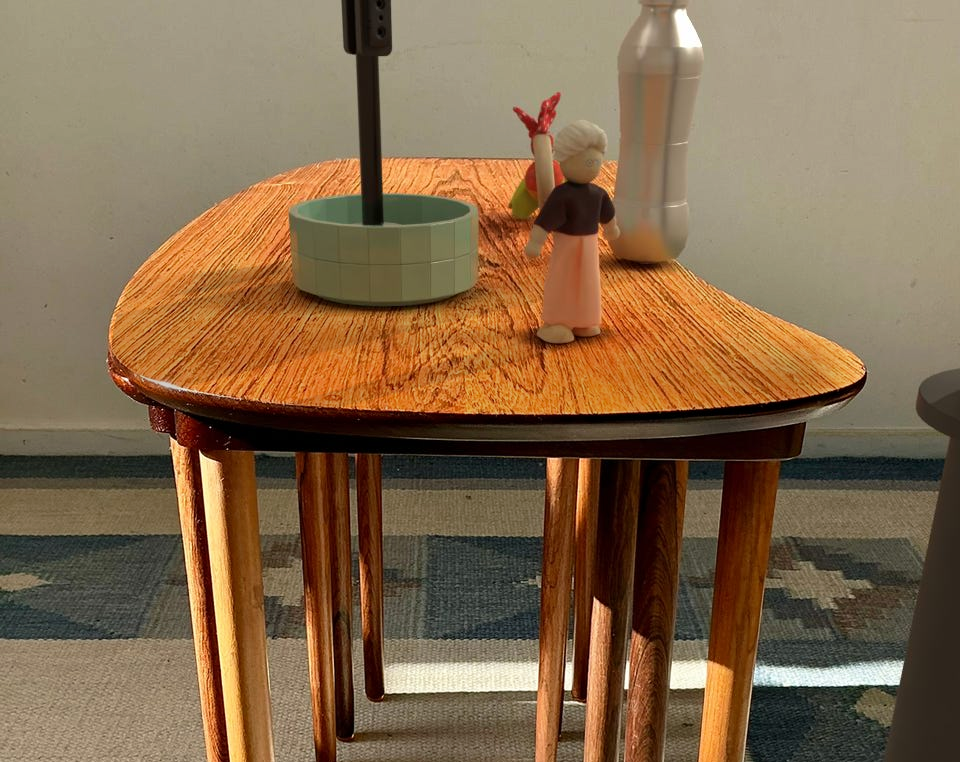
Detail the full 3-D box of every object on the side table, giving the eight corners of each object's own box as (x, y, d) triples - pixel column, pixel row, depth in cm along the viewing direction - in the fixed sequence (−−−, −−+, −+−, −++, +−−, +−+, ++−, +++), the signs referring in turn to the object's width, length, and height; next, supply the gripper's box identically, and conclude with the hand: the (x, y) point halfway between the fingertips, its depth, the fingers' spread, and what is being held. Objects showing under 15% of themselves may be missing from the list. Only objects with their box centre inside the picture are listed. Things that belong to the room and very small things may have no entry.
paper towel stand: (416, 260, 88) (411, -32, 79) (396, 275, 84) (388, -32, 75) (354, 257, 89) (341, -33, 80) (330, 271, 85) (314, -33, 76)
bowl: (496, 274, 93) (497, 198, 90) (449, 317, 81) (449, 231, 79) (331, 263, 95) (328, 189, 93) (265, 303, 84) (259, 220, 82)
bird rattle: (582, 251, 110) (571, 193, 116) (595, 137, 101) (583, 80, 107) (513, 252, 110) (505, 194, 115) (520, 137, 101) (511, 80, 106)
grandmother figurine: (564, 351, 74) (574, 128, 68) (513, 341, 76) (518, 122, 70) (630, 326, 80) (644, 116, 74) (580, 316, 82) (591, 112, 76)
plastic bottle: (676, 252, 100) (700, -25, 91) (694, 270, 94) (721, -23, 85) (598, 252, 100) (613, -25, 90) (611, 271, 94) (629, -24, 84)
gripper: (469, -281, 68) (469, 60, 77) (363, -250, 79) (373, 48, 87) (348, -295, 65) (361, 63, 73) (253, -260, 75) (274, 50, 84)
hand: (367, 53), depth 80 cm, fingers closed on paper towel stand, 1 cm apart
